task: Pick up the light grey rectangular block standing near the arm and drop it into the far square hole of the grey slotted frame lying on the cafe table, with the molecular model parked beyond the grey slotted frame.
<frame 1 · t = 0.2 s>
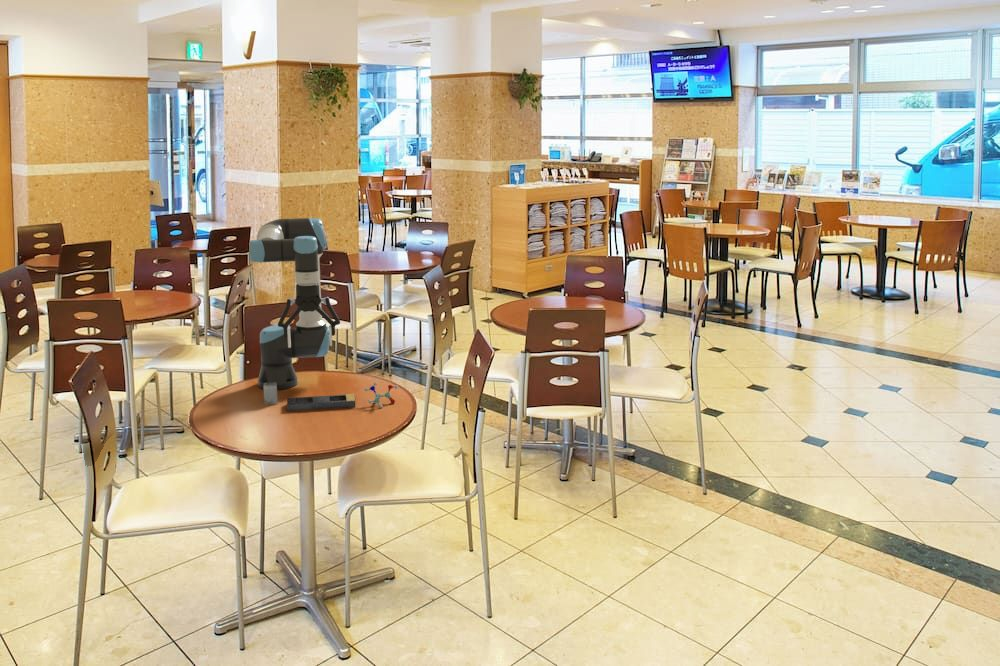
hand: (310, 345, 295), 28 cm above the table, fingers open, 13 cm apart
light grey rectangular block: (271, 402, 323), on the table
grey slotted frame: (321, 405, 319), on the table
molecular model: (379, 404, 322), on the table
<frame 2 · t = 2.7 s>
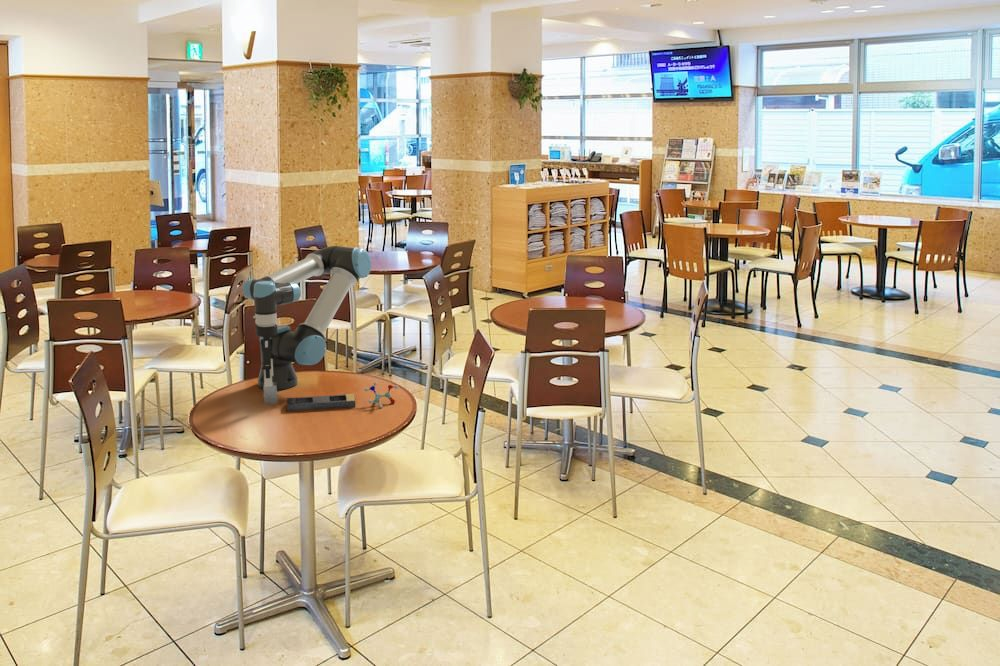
hand: (269, 381, 321), 8 cm above the table, fingers open, 13 cm apart
nothing on the table moved.
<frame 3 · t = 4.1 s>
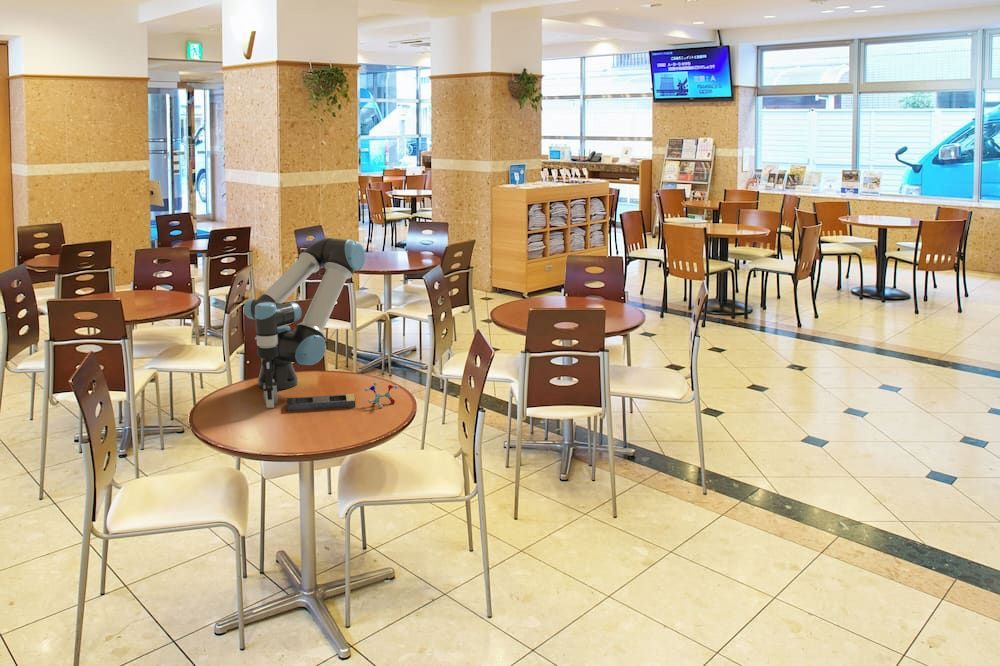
hand: (270, 401, 323), 0 cm above the table, fingers open, 12 cm apart
nothing on the table moved.
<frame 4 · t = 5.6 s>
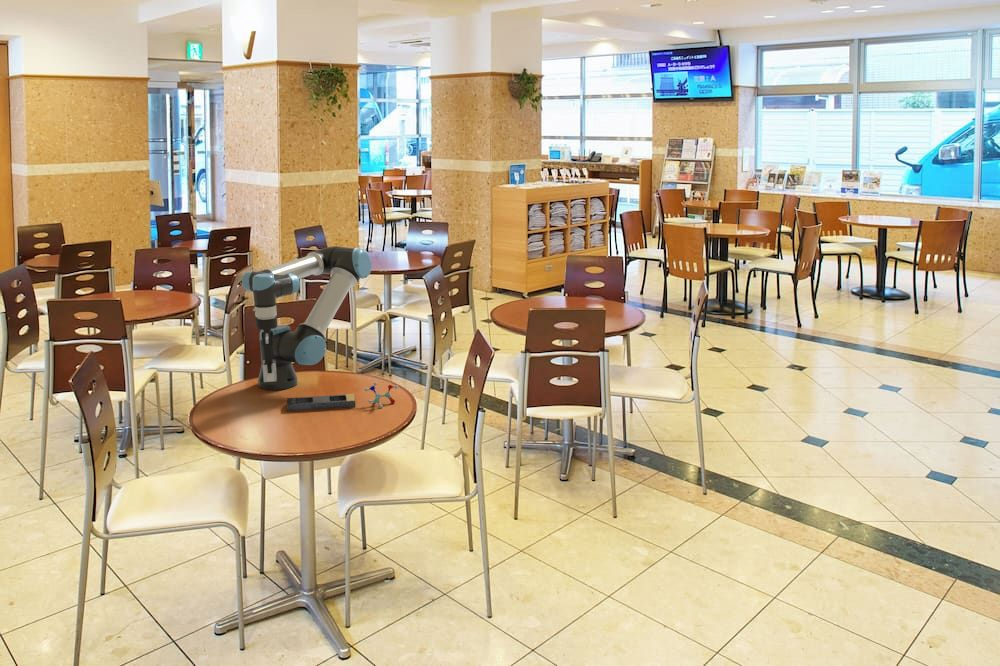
hand: (270, 378, 322), 9 cm above the table, fingers closed on light grey rectangular block, 4 cm apart
light grey rectangular block: (270, 379, 322), point 8 cm above the table, touching gripper
everything else where it was.
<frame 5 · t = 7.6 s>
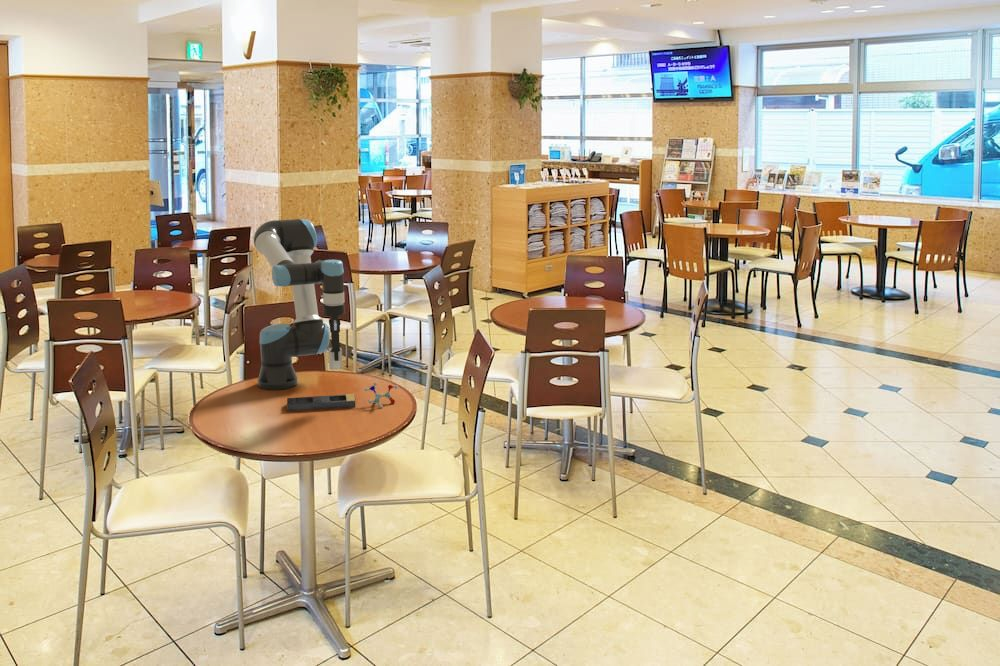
hand: (336, 366, 317), 15 cm above the table, fingers closed on light grey rectangular block, 4 cm apart
light grey rectangular block: (335, 367, 317), point 14 cm above the table, touching gripper
everything else where it was.
when the fingers open (4 cm above the table, at t = 9.7 s): light grey rectangular block drops 3 cm, resting in grey slotted frame.
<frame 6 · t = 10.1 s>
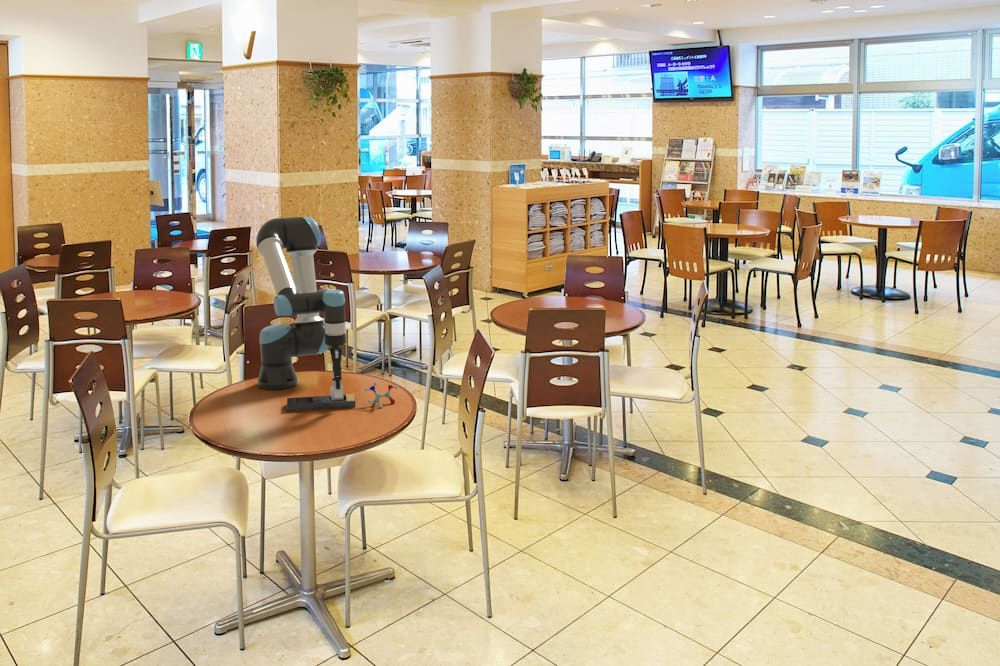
hand: (337, 392, 320), 5 cm above the table, fingers open, 9 cm apart
light grey rectangular block: (337, 405, 321), resting in grey slotted frame
everything else where it was.
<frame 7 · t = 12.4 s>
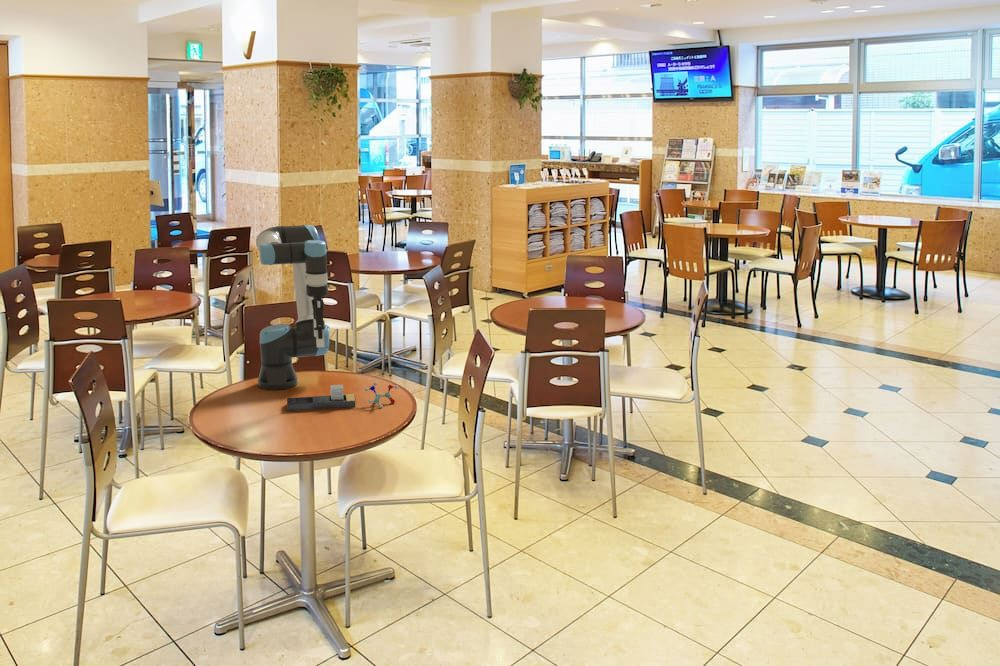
hand: (319, 341, 318), 23 cm above the table, fingers open, 13 cm apart
nothing on the table moved.
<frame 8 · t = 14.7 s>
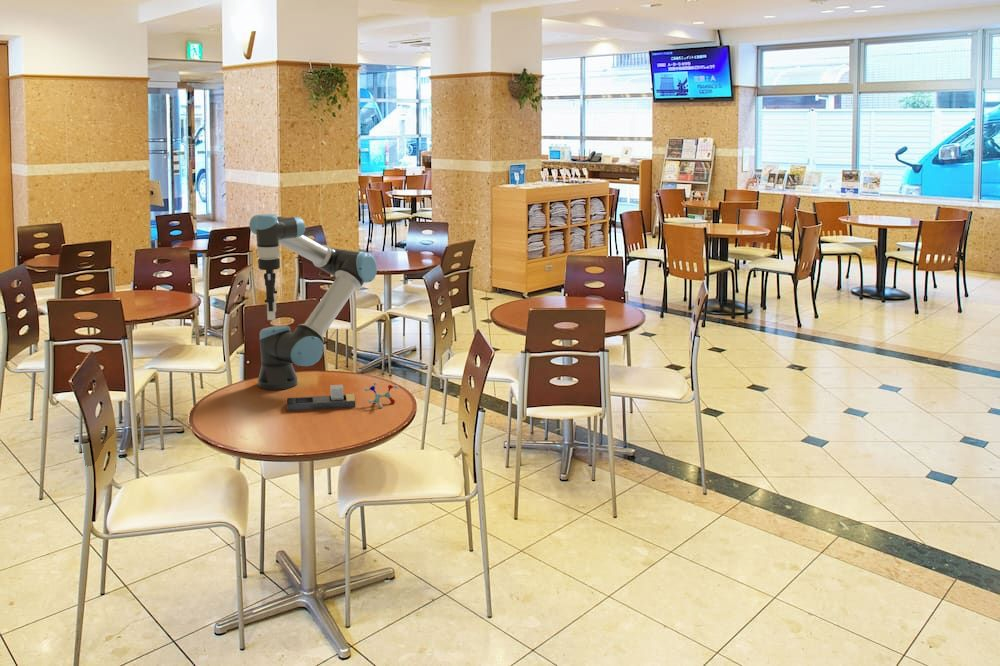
hand: (272, 315, 320), 32 cm above the table, fingers open, 13 cm apart
nothing on the table moved.
at the end: light grey rectangular block 0.3 cm from the target spot on the grey slotted frame, point 0.0 cm above the grey slotted frame's base; light grey rectangular block tilted 0°; the gripper is holding nothing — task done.
